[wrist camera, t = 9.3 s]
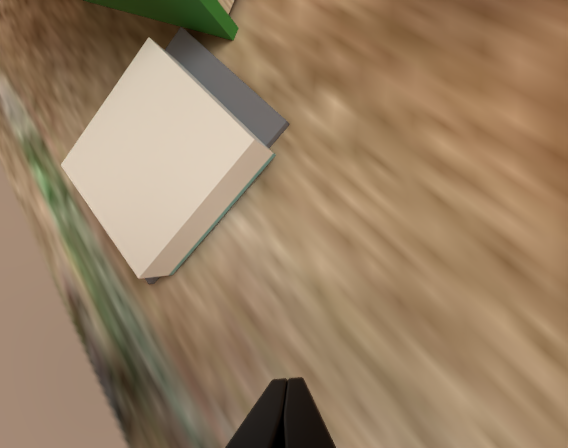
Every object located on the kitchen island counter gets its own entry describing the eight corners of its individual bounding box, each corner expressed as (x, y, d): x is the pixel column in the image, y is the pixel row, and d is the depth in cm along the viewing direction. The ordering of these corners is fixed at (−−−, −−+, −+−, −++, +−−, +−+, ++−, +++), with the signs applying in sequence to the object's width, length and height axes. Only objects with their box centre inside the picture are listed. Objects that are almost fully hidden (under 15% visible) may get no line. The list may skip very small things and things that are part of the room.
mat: (289, 124, 20) (287, 121, 20) (153, 283, 23) (148, 284, 23) (185, 30, 24) (181, 26, 23) (80, 178, 27) (74, 177, 26)
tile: (254, 139, 17) (148, 36, 20) (138, 278, 19) (60, 165, 23) (275, 154, 20) (179, 62, 23) (172, 274, 22) (98, 174, 25)
